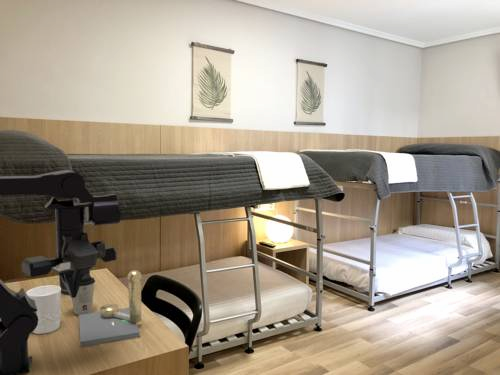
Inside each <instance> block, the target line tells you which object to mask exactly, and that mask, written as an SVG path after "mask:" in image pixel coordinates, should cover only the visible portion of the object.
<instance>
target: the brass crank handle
mask: <svg viewBox="0 0 500 375" xmlns="http://www.w3.org/2000/svg"><path fill="white" fill-rule="evenodd" d="M142 276H143V275H142V273H141V272H140V271H139V270H137V269H136V270H135V269H132V270H131V271H129V273H127V277H126V279H127V280H126V281H127V283H128V308H129V314H125V313H120V312H118V309H119V306H118V304H114V303H111V304H105V305H102V306H101V307H100V312H101V317H103V318H111V317H117V318H121V319H126V320H130V322H131V323H137V324H138V323H140V322H142V320H143V319H142V289H141V288H142V285H141V283H142V282H141V281H142Z"/></svg>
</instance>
